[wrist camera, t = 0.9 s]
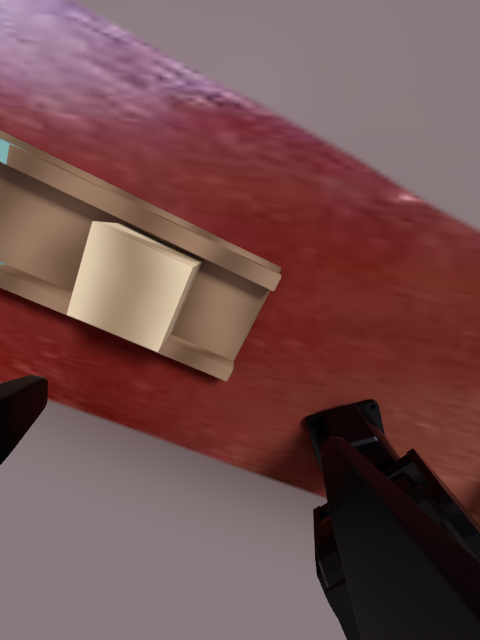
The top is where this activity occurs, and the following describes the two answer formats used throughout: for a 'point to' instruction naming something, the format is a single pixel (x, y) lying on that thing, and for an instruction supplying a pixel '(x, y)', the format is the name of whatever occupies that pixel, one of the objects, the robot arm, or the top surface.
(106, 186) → the chute
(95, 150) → the top surface
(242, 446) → the top surface
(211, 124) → the top surface
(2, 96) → the top surface
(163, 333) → the block
